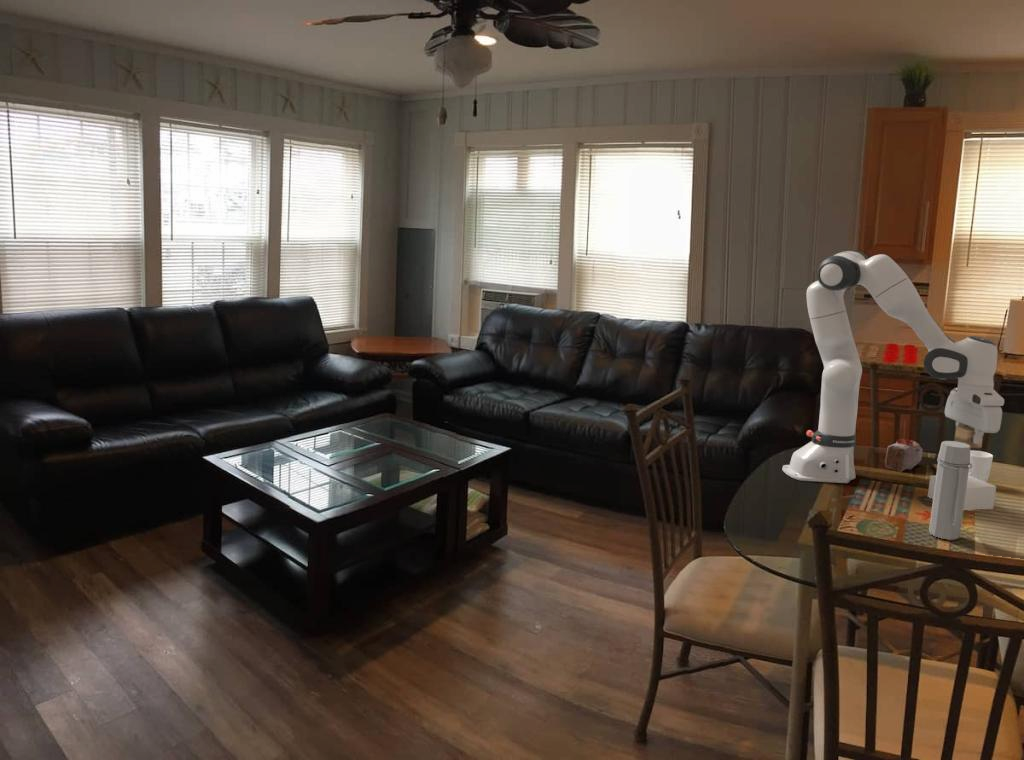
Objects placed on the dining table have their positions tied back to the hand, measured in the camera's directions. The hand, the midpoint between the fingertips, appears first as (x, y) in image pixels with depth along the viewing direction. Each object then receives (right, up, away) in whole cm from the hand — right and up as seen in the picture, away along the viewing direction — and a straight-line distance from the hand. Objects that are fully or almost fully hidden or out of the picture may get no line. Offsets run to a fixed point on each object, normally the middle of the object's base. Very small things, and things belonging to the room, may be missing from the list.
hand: (968, 440), depth 230 cm
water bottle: (-19, -24, -23) cm, 38 cm away
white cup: (+15, -16, +22) cm, 31 cm away
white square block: (0, -19, +4) cm, 19 cm away
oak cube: (0, -2, 0) cm, 2 cm away
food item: (0, -12, +39) cm, 40 cm away
